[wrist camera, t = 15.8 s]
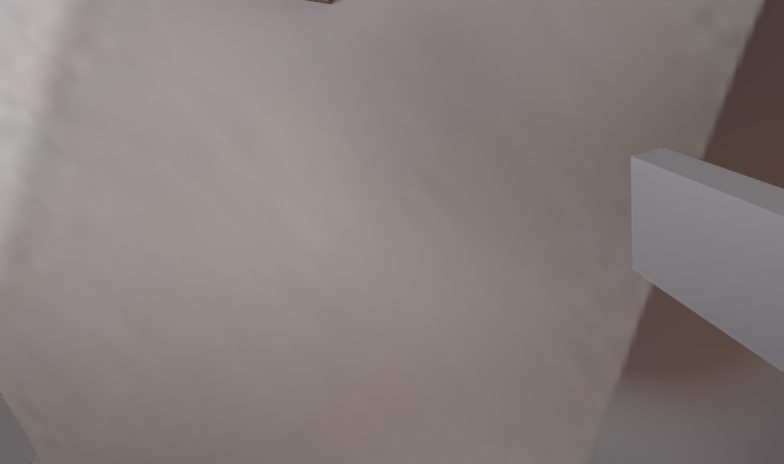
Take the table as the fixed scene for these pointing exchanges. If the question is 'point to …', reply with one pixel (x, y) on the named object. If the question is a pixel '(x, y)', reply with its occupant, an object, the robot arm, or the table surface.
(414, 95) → the table surface
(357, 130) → the table surface
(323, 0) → the socket
